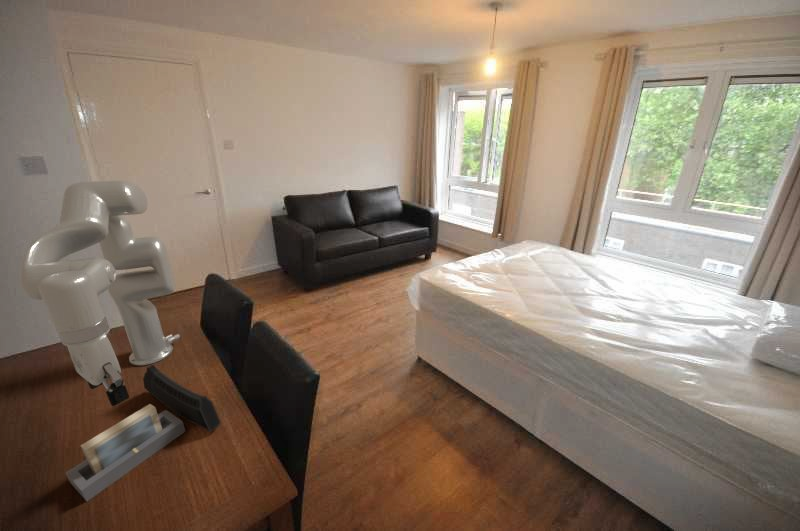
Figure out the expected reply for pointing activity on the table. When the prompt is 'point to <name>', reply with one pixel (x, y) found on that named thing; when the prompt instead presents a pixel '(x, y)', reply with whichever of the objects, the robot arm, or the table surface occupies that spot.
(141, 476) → the table surface
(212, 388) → the table surface
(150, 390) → the magazine
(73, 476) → the gray rectangular tray
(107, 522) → the table surface
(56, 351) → the table surface
